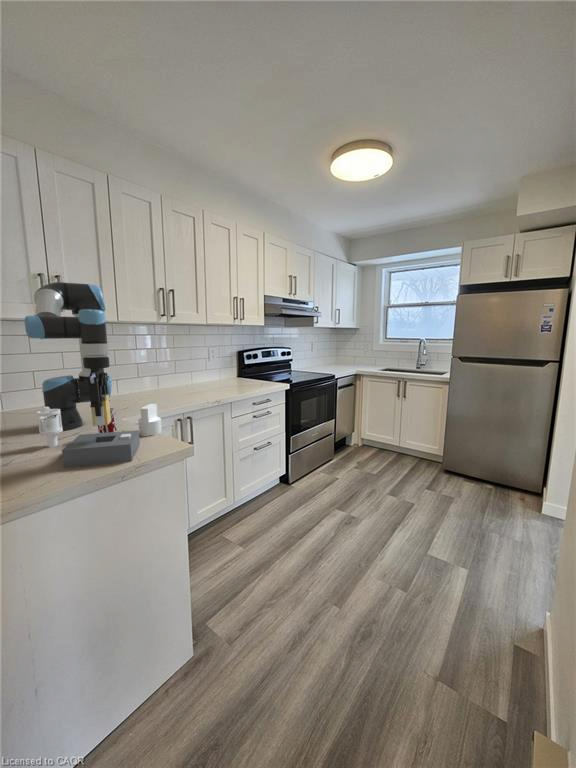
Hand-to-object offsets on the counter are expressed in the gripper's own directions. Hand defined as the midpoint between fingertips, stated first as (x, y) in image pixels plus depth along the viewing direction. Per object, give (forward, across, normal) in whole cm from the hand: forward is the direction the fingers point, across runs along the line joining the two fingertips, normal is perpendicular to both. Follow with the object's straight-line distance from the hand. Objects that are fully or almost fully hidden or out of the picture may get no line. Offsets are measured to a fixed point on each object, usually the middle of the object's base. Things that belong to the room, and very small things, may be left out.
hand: (102, 422), depth 109 cm
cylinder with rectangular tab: (+12, -23, +12) cm, 29 cm away
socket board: (+12, 0, 0) cm, 12 cm away
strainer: (+12, -16, -22) cm, 30 cm away
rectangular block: (0, 0, 0) cm, 0 cm away
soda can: (+12, -21, -4) cm, 25 cm away
